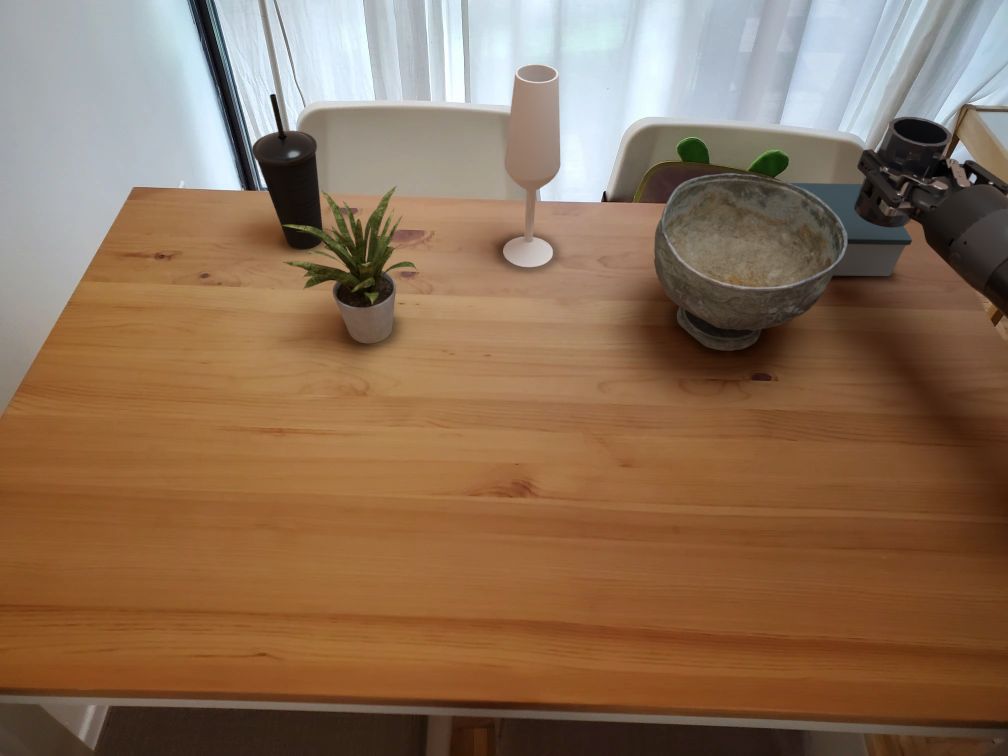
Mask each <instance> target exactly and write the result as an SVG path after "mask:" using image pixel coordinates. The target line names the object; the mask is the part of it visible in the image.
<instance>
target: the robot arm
mask: <svg viewBox="0 0 1008 756" xmlns="http://www.w3.org/2000/svg"><path fill="white" fill-rule="evenodd" d="M876 152H877V151H875V150H873V148H870V149H869V148H868V149H864V150H863V151H862V153H861V155H860V157H859V160H858V163H857V165H856V167H857V169H858V170H859V171H860V172H861V173H862V174H863V176H864V177H866V179H865V178H864V179H865V182H864V181H863V182H864V184H863V183H862V184H863V186H862V188H861V190H860V194H861V195H862V197H863V198H864V199H865V201H866V202H867V203H868V204H869V206H870V207H871V208H872V209H873V211H874V212H875V213H876V215H877V216H878V217H879V218H880V220H881V221H883V222H886V223H890V222H892V220H893V218H894V216H897V215H907V216H908V217H909V218H910V219H911V221H915V222H916V223H918V224H920V225H921V226H922V229H923V234H924V240H925V242H926V244H927V245H928V246H929V247H930V248H931V249H932V250H933V251H934V252H935V253H936V254H937V255H938V257H940V258H941V259H943V261H944V262H945V263H946V264H947V265H948V266H949V267H950V268H951V269H952V270H953V271H954V272H955V273H956V274H957V275H958V276H959V277H960V278H961V279H962V280H963V281H964V282H965V283H966V284H967V285H968V286H969V287H971V288H972V289H974V290H975V291H976V292H978V293H979V294H980V295H982V296H984V298H986V299H987V300H988V301H989V302H990V303H991V304H992V305H993V306H994V307H995V308H996V309H997V310H998V311H999V312H1000V313H1001V314H1002V315H1003V316H1004V317H1005V319H1007V320H1008V183H1007V182H1005V181H1004V180H1003V179H1001V178H999V177H998V176H997V175H995V174H994V173H992V172H991V171H989V170H988V169H987V168H985V167H983V166H982V165H981V164H979V163H978V162H976V161H975V160H971V159H965V160H964V162H963V163H960V162H959V161H958V160H957V159H955V158H948V157H946V156H945V155H944V157H943V158H942V160H941V162H940V164H939V166H938V168H937V170H936V172H935V174H934V176H933V178H932V179H927V178H925V177H922V176H920V175H918V174H916V173H914V172H911V171H907V172H905V173H902V172H900V171H898V170H896V169H893V168H891V167H889V164H887V163H886V162H885V161H884V160H883V159H882V158H881V157H880V156H879V155H878V154H877V153H876ZM972 175H973V176H976V178H975V180H974V182H973V181H972V180H970V179H971V178H972ZM889 178H891V179H893V180H895V181H896V186H895V188H892V187H891V186H890V185H889V183H888V182H887V181H888V179H889ZM908 183H912V184H913V186H912V188H911V190H910V192H909V194H908V196H907V199H905V198H904V195H903V194H904V192H905V190H906V187H907V185H908Z"/></svg>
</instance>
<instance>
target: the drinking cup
mask: <svg viewBox="0 0 1008 756" xmlns="http://www.w3.org/2000/svg"><path fill="white" fill-rule="evenodd" d="M269 98H270V102H271V107H272V111H273V116H274V120H275V125H276V128H277V131H275V132H271V133H268V134H266V135H263V136H262V137H259V138H258V139H257V140H256V141H255V142H254V143H253V145H252V148H251V152H252V153H251V154H252V156H253V158H254V160H256V161H257V163H258V166H259V169H260V172H261V174H262V178H263V180H264V183H265V186H266V188H267V191H268V193H269V197H270V199H271V202H272V205H273V208H274V210H275V212H276V216H277V218H278V221H279V224H280V226H281V230H282V232H283V235H284V237H285V240H286V242H287V245H288V246H289V247H291V248H293V249H295V250H309V249H313V248H315V247H317V246H319V245H320V244H321V243H322V242H323V241H322V240H320V239H319V238H317V237H316V236H314V235H311V234H309V233H304V232H297V231H305V230H301V229H297V228H292V227H287V226H282V225H301V226H310V227H315V228H317V229H319V230H321V231H323V232H324V230H323V228H324V227H323V220H322V219H323V217H322V207H321V197H320V187H319V186H320V185H319V175H318V165H317V164H318V163H317V154H316V152H317V150H318V143H317V140H316V139H315V137H313V136H312V135H311V134H309V133H307V132H304V131H300V130H285V129H284V125H283V121H282V117H281V112H280V108H279V103H278V98H277V94H276V93H270V95H269ZM307 232H308V231H307ZM319 237H320V236H319ZM321 238H322V237H321ZM322 239H323V238H322ZM323 240H324V239H323Z"/></svg>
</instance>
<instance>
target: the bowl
mask: <svg viewBox="0 0 1008 756" xmlns="http://www.w3.org/2000/svg"><path fill="white" fill-rule="evenodd" d="M790 183H791V182H788V181H783V180H778V179H773V178H770V177H762V176H759V175H756V174H755V175H754V174H741V173H735V172H734V173H733V172H725V173H718V174H717V173H716V174H705V175H701V176H697V177H694V178H690V179H687V180H685V181H683V182H681V183H680V184H678V186H676V187H675V188H674V190H672V192H671V194H670V196H669V197H668V198H667V201H666V203H665V205H664V208H663V210H662V213H661V217H660V220H659V221H658V223H657V224H656V228H655V232H654V246H653V247H654V248H653V249H654V250H653V251H654V253H653V254H654V260H653V263H654V267H655V268H654V269H655V272H656V277H657V280H658V282H659V284H660V286H661V288H662V290H663V291H664V293H665V294H666V296H667V297H668V299H669V300H671V301H672V302H673V303H674V304H676V305H677V306H678V310H677V313H676V320H677V323H678V325H679V326H680V327H681V328H683V329H684V330H685V331H686V332H687V333H688V334H689V335H690V336H692V337H693V338H694V339H695V340H697V342H698V343H700V344H701V345H702V346H704V347H706V348H709V349H713V350H718V351H729V352H733V351H739V350H744V349H746V348H748V347H751V346H752V345H754V344H755V343H757V341H758V339H760V335H761V332H762V329H770V328H774V327H778V326H781V325H784V324H786V323H789V322H791V321H793V320H794V319H796V318H798V317H800V316H802V315H803V314H805V313H806V312H808V311H810V310H811V309H812V308H813V307H814V305H815V304H816V303H817V302H818V301H819V299H821V297H822V296H823V295H824V292H825V291H826V288H827V286H828V285H829V284H830V283H831V280H832V278H833V276H834V275H833V274H834V273H835V271H836V269H837V267H838V264H839V262H840V260H841V259H842V257H843V255H844V253H845V251H846V247H847V232H846V230H845V228H844V226H843V224H842V222H841V220H840V218H839V217H838V216H837V215H836V214H835V213H834V212H833V210H832V209H831V208H830V207H829V206H828V205H827V204H826V203H825V202H823V201H822V200H821V199H820V198H818V197H817V196H816V195H814V194H813V193H811V192H809V191H807V190H806V189H803V188H800V187H797V186H795V185H792V184H790Z"/></svg>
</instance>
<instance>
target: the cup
mask: <svg viewBox="0 0 1008 756" xmlns="http://www.w3.org/2000/svg"><path fill="white" fill-rule="evenodd" d="M952 141H953V134H952V133H951V131H950V130H949V129H948V128H947V127H945V126H943V125H942V124H940V123H938V122H935V121H933V120H930V119H927V118H923V117H917V116H900V117H896V118H893V119H892V120H890V121H889V122H888V124H887V126H886V129H885V131H884V134H883V135H882V138H881V140H880V143H879V145H878V147H877V150H876V151H875V152H876V153H877V154H878V155H879V156H880V157H881V158H882V159H883V160H884V161H885V162H886V163H887V164H889V167H891V168H893V169H896V170H898V171H900V172H902V173H905V172H907V171H911V172H914V173H916V174H918V175H920V176H922V177H925V178H927V179H934V178H933V176H934V174H935V172H936V170H937V168H938V166H939V164H940V162H941V160H942V158H943V157H944V156H945V154H946V153H947V151H948V149H949V147H950V145H951V143H952ZM864 177H865V178H864V180H863V182H862V183H861V184H862V186H863V184H864V182H865V179H866V176H864ZM887 182H888V183H889V185H890V186H891V187H892V188H895V186H896V181H895V180H893V179H891V178H889V179H888V181H887ZM862 186H861V188H862ZM912 186H913V184H912V183H908V185H907V187H906V190H905V192H904V194H903V195H904V198H905V199H907V196H908V194H909V192H910V190H911V188H912ZM860 190H861V189H860ZM854 210H855V212H856V213H857V214H858V215H859V216H860V217H861V218H862V219H864V220H866V221H867V222H869V223H872V224H875V225H878V226H882V227H889V228H896V227H902V226H904V227H905V226H906V225H907V224H909V223H910V222H911V221H912V219H910V218H909V217H908V216H907V215H897V216H894V218H893V220H892V222H890V223H886V222H883V221H881V220H880V218H879V217H878V216H877V215H876V213H875V212H874V211H873V209H872V208H871V207H870V206H869V204H868V203H867V202H866V201H865V199H864V198H863V197H862V195H861V194H860V191H859V193H858V196H857V198H856V201H855V204H854Z"/></svg>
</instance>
